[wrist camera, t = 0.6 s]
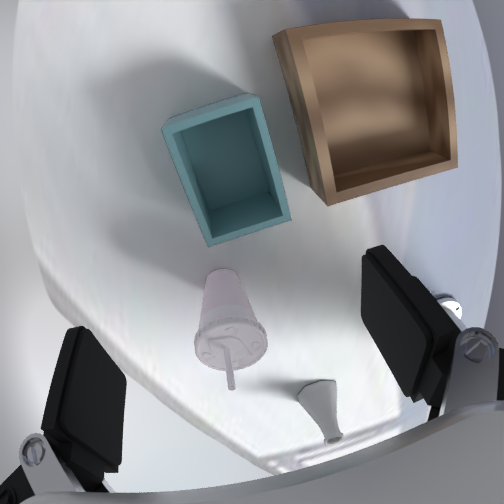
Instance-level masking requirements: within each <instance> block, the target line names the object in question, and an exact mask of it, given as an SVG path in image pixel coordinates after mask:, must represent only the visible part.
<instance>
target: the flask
mask: <svg viewBox="0 0 504 504" xmlns="http://www.w3.org/2000/svg"><path fill="white" fill-rule="evenodd" d="M297 397H298V400H299V403H300V404H301V406H302V407H303V408H304V409H305V410H306V411H307V412H308V414H309V415H310V416H311V417H312V418H313V419H314V421H315V422H316V423H317V424H318V426H319V427H320V429H321V431H322V432H323V435H324V437H325V439H324V443H325V445H332V444H335V443H338V442H340V441H341V440H342V439H343V438H344V436H343V433H341V432H340V430H339V427H338V423H337V384H336V381H319V382H316V383H313V384H310V385H307V386H305V387H304V388H303V389H302V391H301V392H300V393H299V394H298V396H297Z"/></svg>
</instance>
